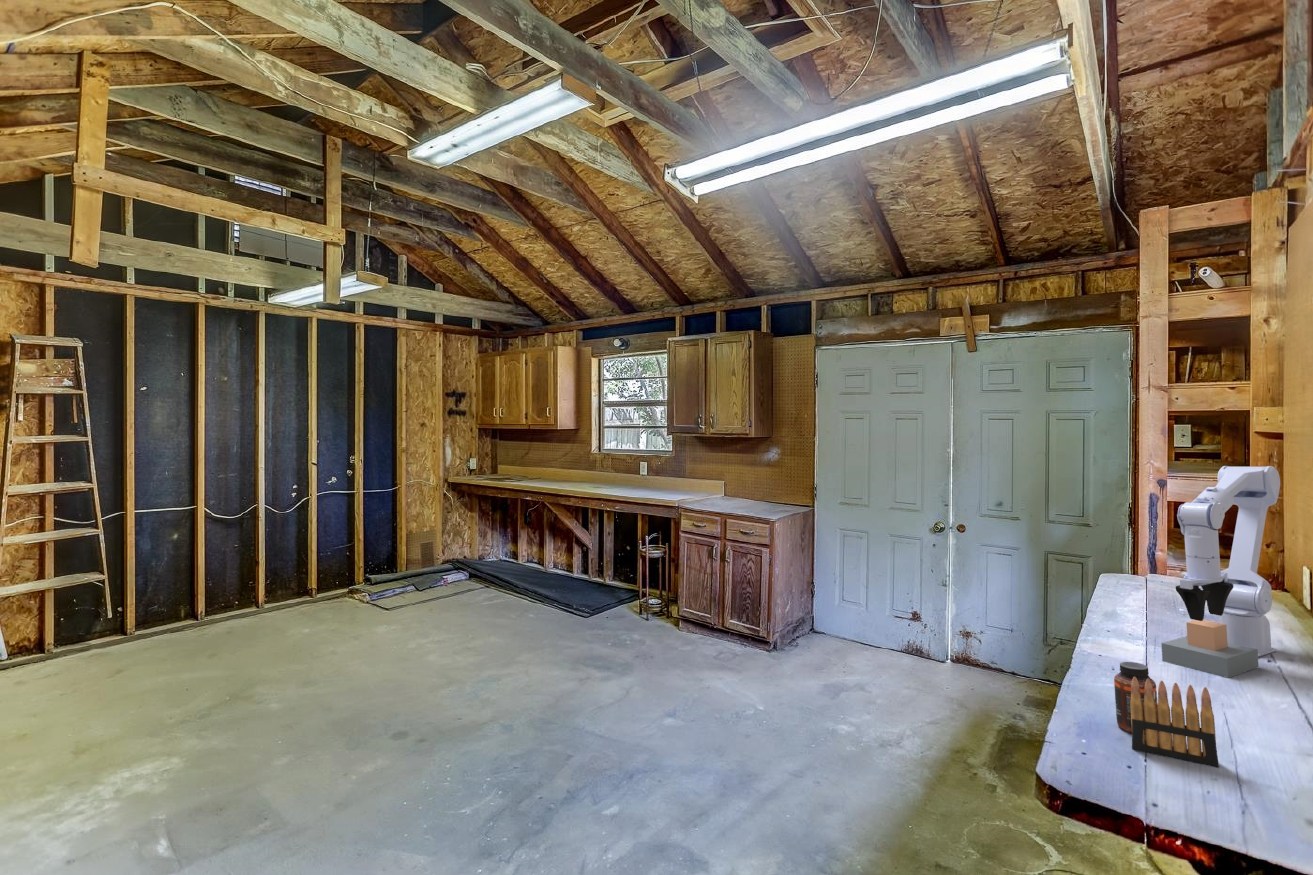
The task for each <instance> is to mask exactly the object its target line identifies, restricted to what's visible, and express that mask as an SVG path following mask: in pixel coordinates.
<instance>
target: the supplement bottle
mask: <svg viewBox="0 0 1313 875" xmlns="http://www.w3.org/2000/svg"><path fill="white" fill-rule="evenodd" d="M1134 676H1135V677H1136V678H1137V680H1138V683H1139V687H1140V694H1141V700H1142V704H1143V716H1144V695H1145V692H1144V689H1145V683H1146V680H1147V679H1149V680H1150V681H1151V684H1152V687H1153V692H1154V700H1155V704H1156V711H1157V705H1158V690H1157V684H1156V682H1155V680H1153V678H1151V677H1150V675H1149V667H1148V666H1147V665H1145V664H1143V663H1140V662H1136V661H1135V662H1133V661H1122V662H1120V663H1119V673H1117V674H1115V676H1114V678H1113V683H1114V685H1113V686H1114V699H1115V701H1114V704H1115V716H1116V724H1117V725H1118V727H1119V728H1120V729H1122V730H1124V731H1126V732H1128V733H1130V734H1132V723H1131V706H1130V701H1131V684H1132V679H1133V677H1134ZM1157 720H1158V713H1157ZM1144 730H1145V729H1144ZM1158 733H1159V731H1158Z"/></svg>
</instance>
